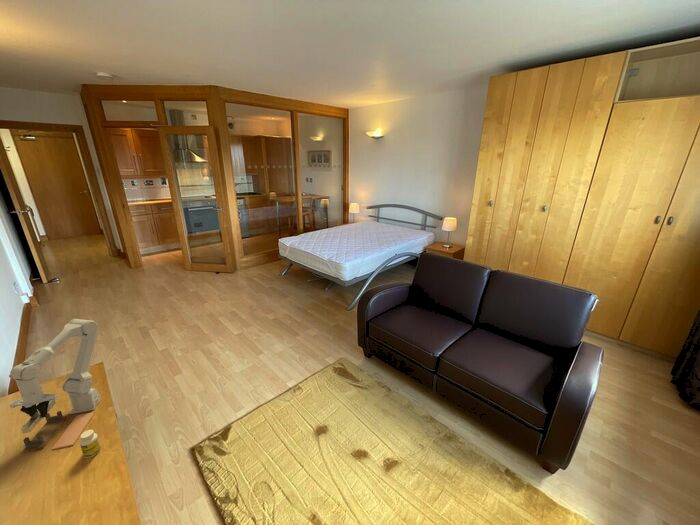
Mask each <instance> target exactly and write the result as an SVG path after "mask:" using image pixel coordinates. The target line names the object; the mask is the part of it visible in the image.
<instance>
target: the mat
mask: <svg viewBox="0 0 700 525" xmlns="http://www.w3.org/2000/svg"><path fill="white" fill-rule="evenodd" d="M95 414H96V412H95V411H93V412H87V413H82V414H76V415H75V417H73V419H72V421H71V423H69V424H68V426H67V427H66V429H65V431H64V432H63V433H62V434H61V436H60V437H59V438H58V440H57V442H56V443H55V444H54V445H53V447H52V448H51V450H52V451H55V450H58V449H64V448H68V447H71V446H75V444H76V442H77V441H78V439H79V438H80V436H81V434H82V433H83V432H84V430H86V427H87V426H88V424H90V421H91V420H92V419H93V417H94V415H95Z"/></svg>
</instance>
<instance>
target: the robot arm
mask: <svg viewBox="0 0 700 525" xmlns="http://www.w3.org/2000/svg"><path fill="white" fill-rule="evenodd" d="M98 327H99V324H98V323H97V322H96V321H95V320H93V319H90V320H89V319H81V318H80V319H79V318H73V319H70V320H69V322H67V323H66V324H64V327H63V329H62V330H61V331H60V332H59V333H58V334H57V335H56V336H55V337H54V338H53V339H52V340H51V341H50V342H48V344H47V345H46V346H43V347H39V348H38V349H36V350H34V352H33V354H31V355H30V356H29V357H28V358H26V359H25V360H24V361H23V362H22V363H20V364H16V365H15V366H13V368H11V370H10V374H9V375H8V377H9V378H10V379H13V380H14V381H15V382H16V386H17V388H18V389H17V390H19V394H20V397H21V399H17V400H13V401H12V402H10V404H9V407H10V409H15V408H16V407H21V408H20V409H19V411H20V412H22V413H25V414H26V415H27V416H29V417H30V418H31V417H32V416H33V415H34V414H35V413H36V412H37V411H39V412H40V414H41V417H42V419H44V418H45V416H46V415H47V410H48V405H49V402H50V401H51V400H53V401H55V402H56V401H58V399H59V394H58V393H53V394H52V393H44V390H43V388H42V386H41V382H40V380H39V377H38V375H39V373H40V370H41V368H42V367H43V366H44V365H45V364H46V363H47V362H48V361H49V360H51V358H53V356H55V351H56V350H57V349H59V348H60V347H61V346H62V345H64V344H65V343H66V342H67V341H69V340H70V339H71V338H74V337H79V338H80V339H81V340H80V344H79V348H78V351H77V355H76V359H75V362H74V367H73V371H72V372H71V373H70V374H68V375H67V376H66V379H65V381H64V382H63V384H62V387H61V389H62V391H63V392H65V393H66V392H67V394H68V397H69V400H70V403H71V406H72V409H71V410H70V412H69V413H68V414H69V415H75V414H80V413H85V412H89V411H94V410H95V409H96V407H97V406H98V404H99V402H100V401H101V400H102V399H101V398H102V397H100V393H99V391H98V388H96V387H95V388H94V387H93V388H92V386H93V375H92V374H91V373H90V372H89V370H90V366H91V362H92V359H93V354H94V349H95V346H96V342H97V339H98V336H99V334H98Z"/></svg>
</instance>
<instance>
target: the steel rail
mask: <svg viewBox="0 0 700 525" xmlns="http://www.w3.org/2000/svg"><path fill="white" fill-rule="evenodd" d="M55 405H56V401H53V400H51V401H50V402H49V405H48V410H47V413H49V411H50V410H51V409H52V408H54V406H55ZM42 420H43V418H42V417H41V414H40V412H39V411H38V410H37V412H36V413H35V414H34V415H33V416H32V417H30V418H29V419H28V421H27V422H26V423H24V425H23V426H22V427H21V429H20V430H21V432H22V434H26V433H31V432H32V431H33V430H34V429H35V428H36V427H37V425H38V424H39V423H40V422H41V421H42Z"/></svg>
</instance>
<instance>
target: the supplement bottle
mask: <svg viewBox="0 0 700 525" xmlns="http://www.w3.org/2000/svg"><path fill="white" fill-rule="evenodd" d="M98 436H99V435H98V434H97V433H95V430H94V429H87V430H85V431H83V432H82V433H81V435H80V436H79V438H80V439H79V440H80V441H79V447H80V449H81V453H82V456H83V457H84V458H85V459H87V458H89V459H90V458H92V457H94V456H96V455H97V454H98V453H99V452H100V451H101V449H102V446H101V443H100V439H99V437H98Z"/></svg>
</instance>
